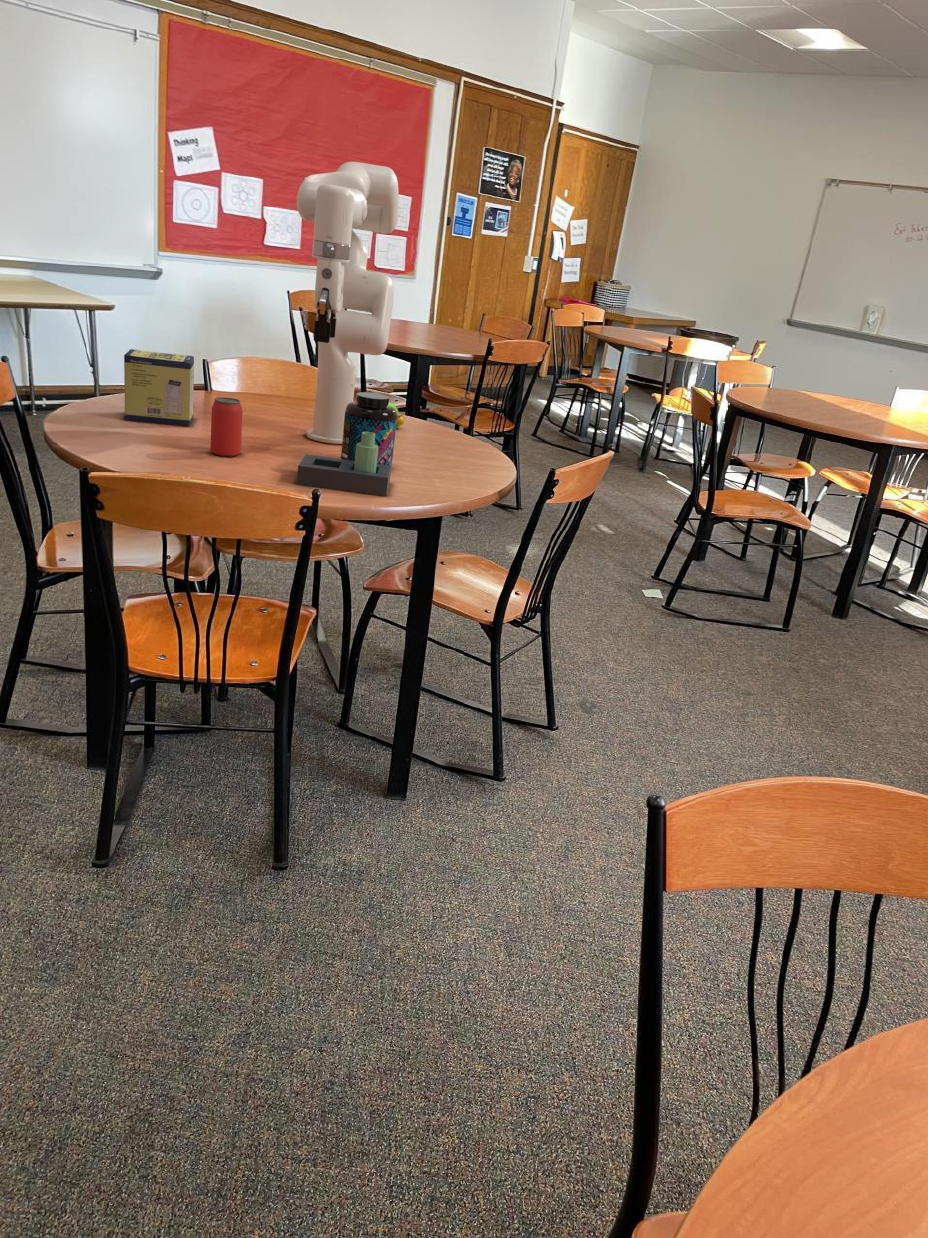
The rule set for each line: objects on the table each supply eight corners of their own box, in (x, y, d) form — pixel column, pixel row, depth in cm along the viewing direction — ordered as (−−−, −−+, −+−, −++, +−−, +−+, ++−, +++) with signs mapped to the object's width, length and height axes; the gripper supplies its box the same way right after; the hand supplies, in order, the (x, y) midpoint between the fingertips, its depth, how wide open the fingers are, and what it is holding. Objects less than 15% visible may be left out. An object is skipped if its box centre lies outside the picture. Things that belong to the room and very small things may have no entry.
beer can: (210, 456, 197) (212, 401, 193) (210, 448, 203) (211, 395, 198) (241, 458, 199) (243, 404, 195) (239, 451, 205) (242, 398, 200)
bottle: (353, 482, 194) (358, 429, 190) (374, 485, 194) (380, 432, 190) (351, 487, 190) (356, 434, 186) (373, 490, 190) (378, 437, 186)
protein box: (129, 411, 226) (129, 348, 220) (193, 418, 229) (195, 355, 223) (123, 420, 216) (122, 354, 210) (190, 426, 220) (192, 362, 214)
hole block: (304, 472, 196) (305, 454, 195) (389, 483, 198) (391, 465, 196) (296, 484, 186) (298, 465, 185) (386, 496, 188) (388, 477, 186)
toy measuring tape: (395, 431, 250) (398, 407, 247) (340, 416, 258) (342, 393, 256) (408, 429, 255) (411, 406, 252) (354, 414, 263) (356, 392, 261)
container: (387, 475, 204) (391, 401, 197) (334, 468, 205) (336, 394, 199) (399, 464, 214) (403, 393, 208) (348, 458, 216) (351, 387, 210)
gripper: (345, 256, 175) (337, 346, 181) (353, 254, 190) (346, 337, 197) (306, 250, 174) (300, 341, 181) (318, 248, 190) (312, 332, 197)
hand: (324, 339), depth 189 cm, fingers open, 9 cm apart
